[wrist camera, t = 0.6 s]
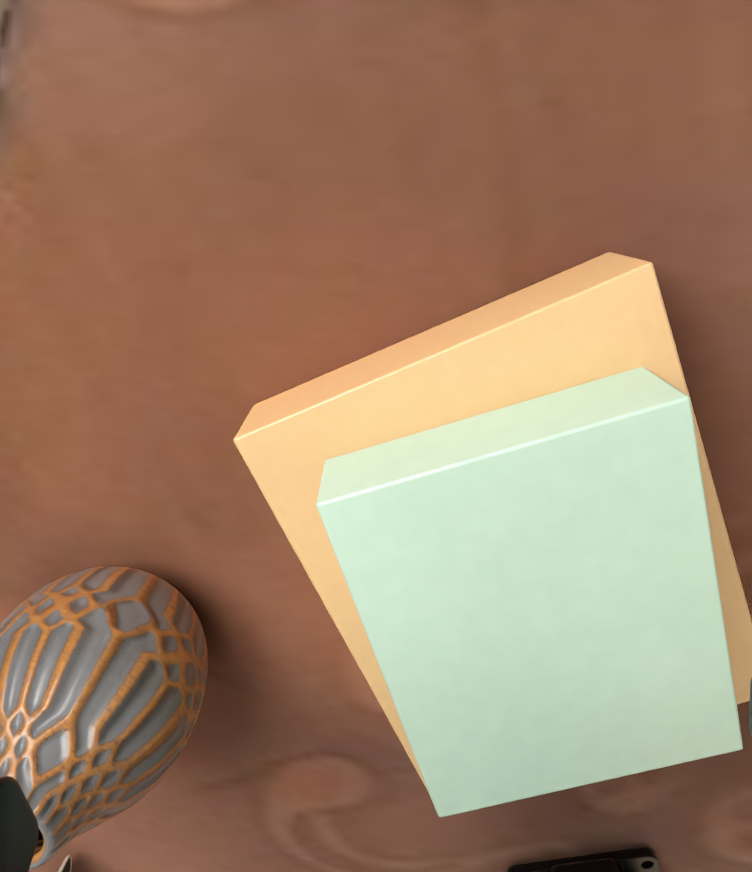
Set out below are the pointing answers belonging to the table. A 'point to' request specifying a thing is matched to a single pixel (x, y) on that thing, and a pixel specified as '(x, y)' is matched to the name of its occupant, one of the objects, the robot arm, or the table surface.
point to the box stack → (521, 539)
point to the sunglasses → (66, 864)
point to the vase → (96, 695)
